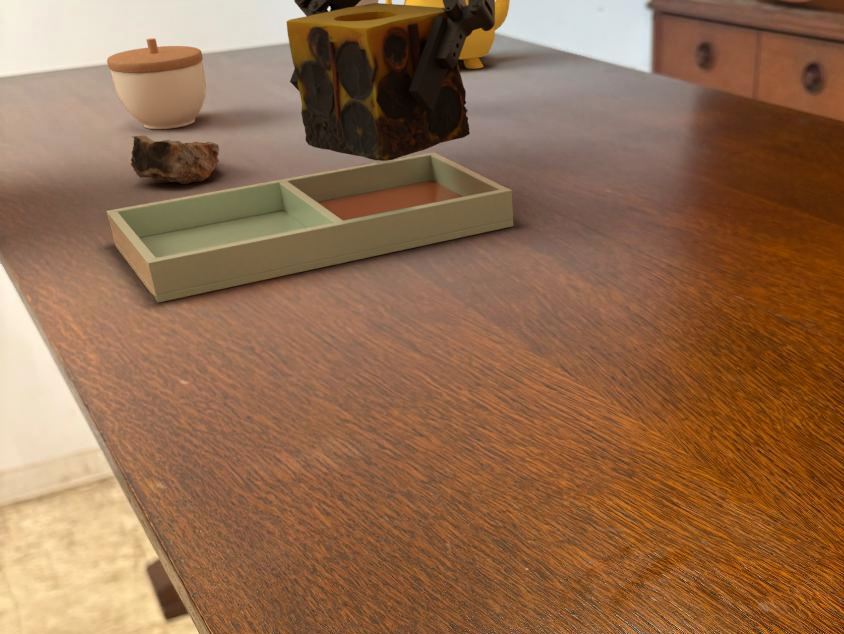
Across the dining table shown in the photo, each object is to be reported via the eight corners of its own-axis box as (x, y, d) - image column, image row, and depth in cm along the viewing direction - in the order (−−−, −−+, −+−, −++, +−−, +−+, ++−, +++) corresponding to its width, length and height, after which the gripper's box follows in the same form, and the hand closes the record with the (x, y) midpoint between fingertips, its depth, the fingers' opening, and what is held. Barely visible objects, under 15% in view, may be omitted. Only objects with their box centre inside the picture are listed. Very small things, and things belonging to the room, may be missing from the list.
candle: (472, 137, 92) (462, 8, 87) (384, 164, 86) (367, 27, 81) (391, 122, 98) (377, 0, 93) (303, 147, 92) (282, 18, 86)
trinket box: (191, 108, 137) (175, 27, 132) (230, 122, 130) (213, 37, 125) (109, 124, 132) (88, 40, 127) (144, 139, 125) (124, 51, 120)
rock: (201, 191, 106) (244, 145, 113) (168, 134, 103) (215, 90, 109) (133, 209, 110) (179, 163, 116) (99, 154, 106) (149, 111, 113)
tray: (115, 246, 93) (106, 210, 91) (437, 184, 105) (434, 151, 103) (157, 302, 81) (147, 262, 80) (513, 226, 93) (511, 190, 92)
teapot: (387, 60, 160) (377, -38, 153) (521, 50, 163) (516, -46, 155) (393, 78, 149) (382, -26, 142) (536, 67, 151) (532, -36, 144)
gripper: (587, -107, 89) (503, 134, 86) (355, -104, 99) (274, 112, 96) (554, -183, 82) (463, 76, 80) (309, -172, 92) (221, 59, 89)
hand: (360, 96), depth 88 cm, fingers closed on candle, 11 cm apart
